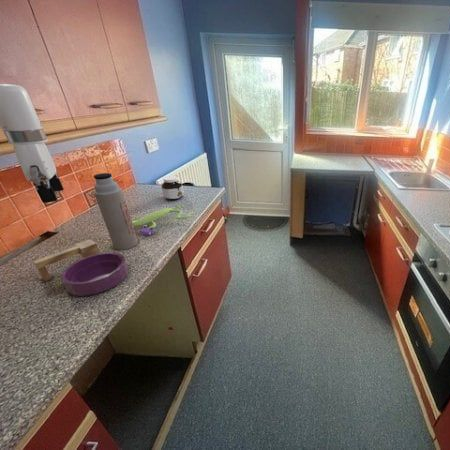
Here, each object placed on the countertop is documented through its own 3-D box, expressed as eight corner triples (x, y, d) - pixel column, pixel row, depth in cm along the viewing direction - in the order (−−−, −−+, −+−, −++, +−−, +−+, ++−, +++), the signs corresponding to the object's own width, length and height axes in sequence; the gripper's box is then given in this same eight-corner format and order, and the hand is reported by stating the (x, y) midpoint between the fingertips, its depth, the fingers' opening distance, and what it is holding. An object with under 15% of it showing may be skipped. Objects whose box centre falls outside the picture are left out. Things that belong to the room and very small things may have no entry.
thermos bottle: (142, 239, 101) (121, 171, 88) (130, 250, 94) (106, 178, 81) (122, 238, 101) (98, 170, 88) (109, 249, 94) (81, 177, 81)
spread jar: (170, 202, 134) (165, 181, 129) (158, 197, 139) (153, 177, 134) (189, 196, 144) (186, 176, 138) (177, 191, 149) (173, 172, 143)
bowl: (81, 305, 70) (74, 291, 67) (59, 283, 77) (52, 270, 75) (138, 275, 82) (134, 263, 79) (115, 259, 89) (110, 247, 86)
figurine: (199, 223, 115) (197, 212, 112) (132, 241, 99) (128, 229, 97) (185, 209, 127) (183, 199, 125) (124, 224, 112) (120, 212, 109)
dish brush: (47, 283, 77) (36, 265, 73) (41, 277, 79) (31, 259, 76) (103, 260, 88) (96, 243, 85) (96, 255, 90) (90, 238, 87)
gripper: (17, 132, 71) (44, 189, 79) (-6, 143, 59) (28, 209, 67) (52, 131, 75) (74, 185, 83) (37, 141, 62) (65, 204, 70)
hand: (54, 196), depth 75 cm, fingers open, 9 cm apart
